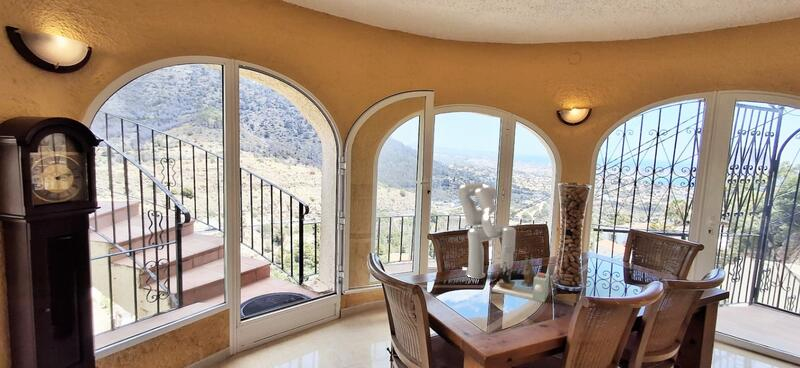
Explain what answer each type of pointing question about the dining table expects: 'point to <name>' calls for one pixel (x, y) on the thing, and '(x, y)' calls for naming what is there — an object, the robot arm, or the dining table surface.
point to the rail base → (515, 291)
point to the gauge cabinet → (540, 288)
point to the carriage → (505, 283)
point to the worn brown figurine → (528, 274)
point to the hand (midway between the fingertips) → (506, 279)
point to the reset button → (541, 275)
